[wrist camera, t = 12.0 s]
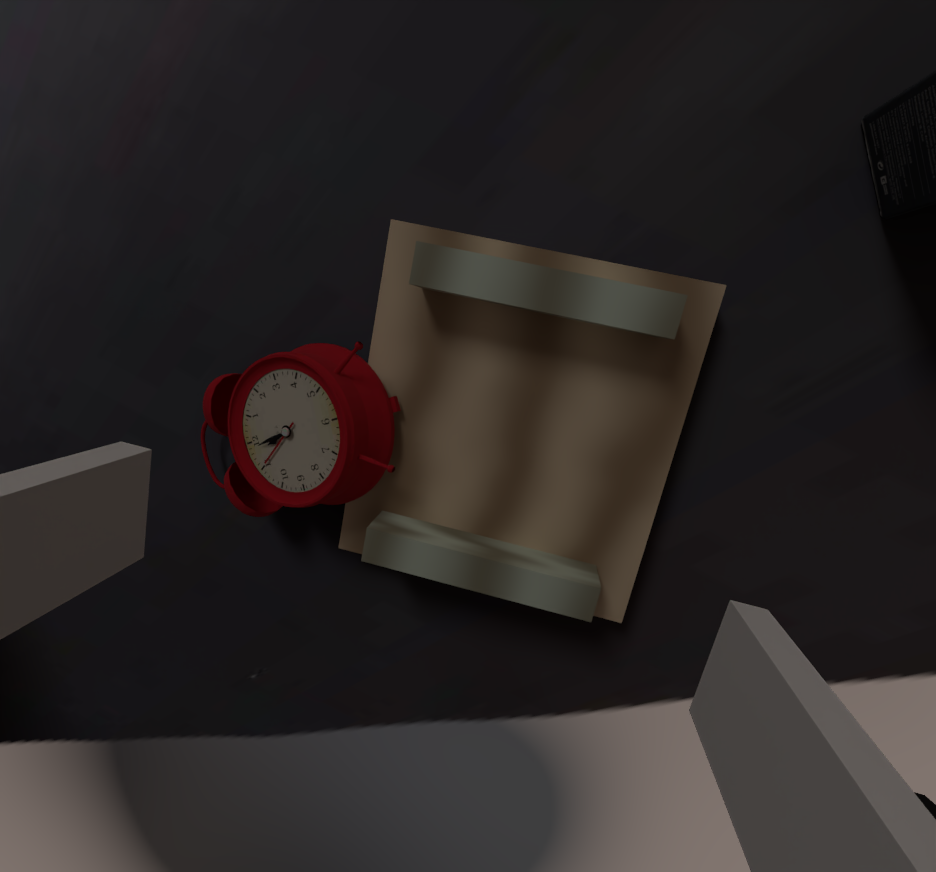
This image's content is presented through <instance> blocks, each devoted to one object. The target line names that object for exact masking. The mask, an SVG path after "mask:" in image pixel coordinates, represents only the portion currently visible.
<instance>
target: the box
mask: <svg viewBox="0 0 936 872" xmlns="http://www.w3.org/2000/svg"><path fill="white" fill-rule="evenodd" d="M862 126H863V130H864V135H865V142H866V146H867V151H868V158H869V161H870V165H871V170H872V176H873V180H874V184H875V189H876V194H877V199H878V203H879V208H880V215H881V216H882V217H883V218H884V219H889V218H893V217H896V216H899V215H902V214H906V213H909V212H912V211H915V210H918V209H922V208H925V207H928V206H931V205H935V204H936V71H934V72H933V73H931V74H929V75H928V76H927V77H925V78H924V79H922V80H920V81H919V82H918V83H916V84H914V85H913V86H911V87H909V88H908V89H906V90H905V91H903V92H902V93H900V94H899V95H897V96H895V97H894V98H892V99H891V100H889V101H888V102H886V103H884V104H883V105H881V106H880V107H878V108H876V109H875V110H874V111H872V112H870V113H869V114H867V115H866V116H864V117H863V119H862Z"/></svg>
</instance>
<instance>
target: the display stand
mask: <svg viewBox="0 0 936 872" xmlns="http://www.w3.org/2000/svg"><path fill="white" fill-rule="evenodd" d="M725 288H726V285H722V284H717V283H712V282H707V281H702V280H697V279H692V278H687V277H681V276H676V275H671V274H666V273H661V272H656V271H651V270H646V269H641V268H636V267H631V266H626V265H621V264H615V263H610V262H605V261H600V260H595V259H590V258H585V257H580V256H575V255H570V254H565V253H560V252H555V251H549V250H544V249H539V248H534V247H529V246H524V245H519V244H514V243H509V242H504V241H499V240H494V239H488V238H483V237H478V236H473V235H468V234H463V233H458V232H453V231H448V230H443V229H438V228H433V227H428V226H422V225H417V224H412V223H407V222H402V221H397V220H392V219H391V223H390V229H389V236H388V242H387V248H386V254H385V261H384V267H383V273H382V279H381V286H380V292H379V298H378V304H377V311H376V317H375V323H374V329H373V336H372V342H371V348H370V354H369V361H368V364H369V365H370V367H371V368H372V369H373V370H374V371H375V373H376V374H377V376H378V377H379V379H380V380H381V382H382V384H383V386H384V388H385V390H386V392H387V394H388V397H389V398H390V397H393V396H397V398H398V402H399V406H400V409H401V411H397V412H394V413H393V416H394V427H395V436H394V446H393V451H392V455H391V458H390V461H389V464H388V466H389V465H393V466H394V467H395V470H394V472H392V473H390V472H388V471H387V469H386V471H385V472H384V474H383V476H382V477H381V479H380V480H379V482H378V483H377V484H376V485H375V486H374V487H373V488H372V489H371V490H370V491H369V492H368V493H366V494H365V495H363V496H362V497H360V498H358V499H355V500H353V501H350V502H348V503H346V504H345V510H344V517H343V523H342V529H341V535H340V542H339V548H340V549H344V550H348V551H351V552H355V553H359V554H362V559H361V561H363V562H367V563H371V564H374V565H378V566H382V567H386V568H389V569H393V570H397V571H401V572H404V573H408V574H412V575H416V576H419V577H423V578H427V579H431V580H434V581H438V582H442V583H446V584H449V585H453V586H457V587H461V588H464V589H468V590H472V591H476V592H479V593H483V594H487V595H491V596H494V597H498V598H502V599H506V600H509V601H513V602H517V603H521V604H524V605H528V606H532V607H536V608H539V609H543V610H547V611H551V612H554V613H558V614H562V615H566V616H569V617H573V618H577V619H581V620H584V621H588V622H592V618H593V616H596V617H600V618H604V619H608V620H611V621H615V622H619V623H622V620H623V617H624V614H625V610H626V607H627V604H628V601H629V598H630V594H631V591H632V588H633V585H634V581H635V578H636V575H637V572H638V569H639V565H640V562H641V559H642V556H643V553H644V549H645V546H646V543H647V540H648V536H649V533H650V530H651V527H652V524H653V520H654V517H655V514H656V511H657V507H658V504H659V501H660V498H661V495H662V491H663V488H664V485H665V482H666V478H667V475H668V472H669V469H670V466H671V462H672V459H673V456H674V453H675V449H676V446H677V443H678V440H679V437H680V433H681V430H682V427H683V424H684V420H685V417H686V414H687V411H688V408H689V404H690V401H691V398H692V395H693V391H694V388H695V385H696V382H697V379H698V375H699V372H700V369H701V366H702V363H703V359H704V356H705V353H706V350H707V346H708V343H709V340H710V337H711V334H712V330H713V327H714V324H715V321H716V317H717V314H718V311H719V308H720V305H721V301H722V298H723V295H724V292H725Z"/></svg>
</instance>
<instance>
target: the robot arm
mask: <svg viewBox="0 0 936 872" xmlns="http://www.w3.org/2000/svg"><path fill="white" fill-rule="evenodd" d="M150 464H151V449H148V448H144V447H140V446H136V445H132V444H128V443H125V442H118V443H114V444H111V445H107V446H103V447H100V448H96V449H92V450H89V451H85V452H81V453H78V454H74V455H70V456H66V457H63V458H59V459H55V460H52V461H48V462H44V463H41V464H37V465H33V466H30V467H26V468H22V469H18V470H15V471H11V472H7V473H4V474H0V639H2V638H4V637H6V636H7V635H9V634H11V633H13V632H14V631H16V630H18V629H20V628H21V627H23V626H25V625H27V624H28V623H30V622H32V621H33V620H35V619H37V618H39V617H40V616H42V615H44V614H46V613H47V612H49V611H51V610H53V609H54V608H56V607H58V606H60V605H61V604H63V603H65V602H66V601H68V600H70V599H72V598H73V597H75V596H77V595H79V594H80V593H82V592H84V591H86V590H87V589H89V588H91V587H93V586H94V585H96V584H98V583H99V582H101V581H103V580H105V579H106V578H108V577H110V576H112V575H113V574H115V573H117V572H119V571H120V570H122V569H124V568H126V567H127V566H129V565H131V564H133V563H134V562H136V561H138V560H139V559H141V558H143V557H144V545H145V531H146V518H147V504H148V491H149V477H150ZM689 711H690V714H691V716H692V719H693V722H694V724H695V727H696V729H697V732H698V735H699V737H700V740H701V742H702V745H703V748H704V750H705V753H706V756H707V758H708V760H709V763H710V766H711V769H712V771H713V774H714V776H715V779H716V782H717V784H718V787H719V789H720V792H721V795H722V797H723V800H724V802H725V805H726V808H727V810H728V813H729V815H730V818H731V820H732V823H733V826H734V828H735V831H736V834H737V836H738V839H739V841H740V844H741V847H742V849H743V851H744V854H745V857H746V859H747V862H748V865H749V867H750V870H751V872H936V805H935V804H934V803H933V802H932V801H930V800H929V799H928V798H927V797H926V796H925V795H922V794H918V793H915V792H913V791H912V790H911V788H910V787H909V786H908V785H907V783H906V782H905V781H904V779H903V778H902V777H901V776H900V774H899V773H898V772H897V771H896V769H895V768H894V767H893V766H892V764H891V763H890V762H889V761H888V760H887V758H886V757H885V756H884V754H883V753H882V752H881V751H880V749H879V748H878V747H877V746H876V744H875V743H874V742H873V741H872V739H871V738H870V737H869V736H868V734H867V733H866V732H865V731H864V730H863V728H862V727H861V726H860V725H859V723H858V722H857V721H856V719H855V718H854V717H853V716H852V714H851V713H850V712H849V711H848V709H847V708H846V707H845V706H844V704H843V703H842V702H841V701H840V700H839V698H838V697H837V696H836V694H835V693H834V692H833V691H832V689H831V688H830V687H829V686H828V684H827V683H826V682H825V681H824V679H823V678H822V677H821V676H820V674H819V673H818V672H817V671H816V669H815V668H814V667H813V666H812V664H811V663H810V662H809V661H808V659H807V658H806V657H805V656H804V654H803V653H802V652H801V651H800V649H799V648H798V647H797V646H796V644H795V643H794V642H793V641H792V639H791V638H790V637H789V636H788V634H787V633H786V632H785V631H784V629H783V628H782V627H781V626H780V624H779V623H778V622H777V621H776V619H775V618H774V617H773V616H772V614H771V613H770V612H769V611H768V610H767V609H763V608H759V607H755V606H751V605H747V604H744V603H740V602H736V601H732V600H730V602H729V604H728V607H727V610H726V612H725V615H724V618H723V620H722V623H721V626H720V629H719V631H718V634H717V637H716V639H715V642H714V645H713V647H712V650H711V653H710V655H709V658H708V661H707V664H706V666H705V669H704V672H703V674H702V677H701V680H700V682H699V685H698V688H697V691H696V693H695V696H694V699H693V701H692V704H691V707H690V709H689Z"/></svg>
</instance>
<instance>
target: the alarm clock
mask: <svg viewBox="0 0 936 872" xmlns="http://www.w3.org/2000/svg"><path fill="white" fill-rule="evenodd" d="M362 348H363V344H362V343H361V342H356V343H355V348H354V349H353V350H352V351H350V350H348V349H346V348H344V347H341V346H338V345H334V344H326V343H314V344H308V345H304V346H301V347H299V348H296V349H294V350H293V351H291V352H279V353H274V354H271V355H268V356H266V357H264V358H261V359H259V360H258V361H256V362H254V363H253V364H252V365H251V366H249V367H248V368H247V369H246V370H245V371H244V373H243V374H234V373H233V374H225V375H222V376H219V377H218V378H216V379H214V380H213V381H212V382H211V383H210V385H209V386H208V388H207V389H206V392H205V394H204V399H203V412H204V416H205V419H206V420H205V422H204V424H203V426H202V430H201V444H202V452H203V455H204V459H205V462H206V465H207V468H208V470H209V472H210V474H211V476H212V478H213V480H214V481H215V483H216V484H217V485H218V486H220V487H221V488H223V489H225V491H226V494H227V496H228V498H229V500H230V501H231V503H232V504H233V505H234V506H235V507H236V508H237V509H238V510H240V511H241V512H243V513H245V514H247V515H250V516H255V517H262V516H267V515H270V514H272V513H274V512H276V511H278V510H279V509H280V508H281V507H282V506H286V507H296V508H305V507H311V506H315V505H318V504H326V505H338V504H344V503H348V502H350V501H353V500H355V499H358V498H360V497H362V496H363V495H365V494H366V493H368V492H369V491H370V490H371V489H372V488H373V487H374V486H375V485H376V484H377V483H378V482H379V480H380V479H381V477H382V476H383V474H384V472H385V471H386V469H387V471H388V472H390V473H392V472H394V470H395V467H394V466H393V465H389V466H388V464H389V461H390V458H391V455H392V451H393V446H394V436H395V427H394V416H393V413H394V412H397V411H401V409H400V406H399V402H398V398H397V396H393V397H390V398H389V397H388V394H387V392H386V390H385V388H384V386H383V384H382V382H381V380H380V379H379V377H378V376H377V374H376V373H375V371H374V370H373V369H372V368H371V367H370V365H369V364H367V363H366V362H365V361H364V360H363V359H362V358H361V357H360V356H358V355H357V354H355V353H356V352H357V350H358V349H359V350H361V349H362ZM207 425H209V426H210V427H211V429H212V430H214V431H215V432H217V433H219V434H221V435H224V436H228V437H229V441H230V446H231V449H232V452H233V455H234V458H235V461H236V462H235V463H233V464H232V465H231V466H230V467H229V469H228V470H227V472H226V474H225V477H224V484H222V483H221V482H220V481H219V480H218V479H217V477H216V476H215V474H214V472H213V469H212V467H211V465H210V462H209V458H208V454H207V450H206V444H205V431H206V427H207Z"/></svg>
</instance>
